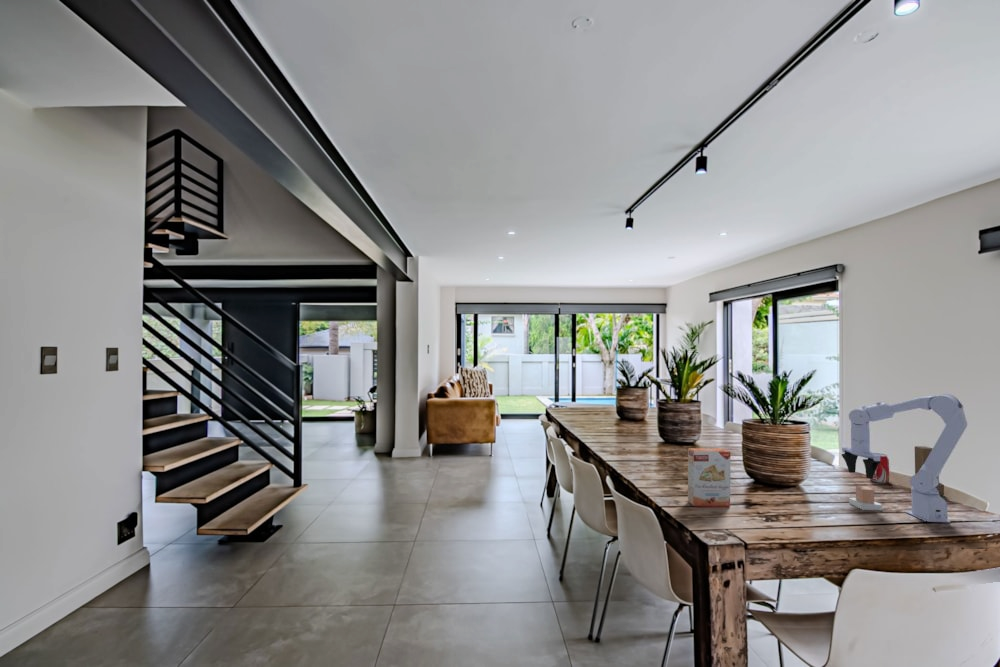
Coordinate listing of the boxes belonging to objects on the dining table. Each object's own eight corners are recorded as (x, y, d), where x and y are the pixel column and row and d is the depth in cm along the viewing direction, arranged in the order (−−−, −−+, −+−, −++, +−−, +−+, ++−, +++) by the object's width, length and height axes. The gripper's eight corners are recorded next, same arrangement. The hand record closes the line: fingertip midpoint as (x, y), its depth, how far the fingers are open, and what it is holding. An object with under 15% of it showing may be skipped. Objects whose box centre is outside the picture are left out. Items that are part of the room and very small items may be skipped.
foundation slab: (882, 511, 170) (882, 504, 170) (861, 511, 171) (861, 504, 171) (868, 505, 177) (868, 498, 177) (849, 504, 178) (849, 497, 178)
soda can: (890, 484, 201) (889, 457, 201) (869, 481, 205) (868, 454, 206) (889, 481, 207) (888, 454, 207) (868, 478, 211) (868, 451, 211)
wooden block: (944, 495, 186) (943, 451, 187) (932, 495, 187) (931, 450, 187) (926, 488, 195) (925, 446, 196) (914, 488, 196) (914, 445, 196)
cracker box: (694, 507, 173) (693, 451, 173) (687, 501, 179) (687, 447, 180) (731, 507, 173) (730, 451, 173) (723, 502, 179) (723, 447, 179)
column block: (874, 503, 172) (874, 489, 172) (862, 502, 172) (862, 489, 172) (867, 499, 175) (867, 486, 176) (855, 499, 176) (855, 486, 176)
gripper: (887, 443, 172) (887, 480, 172) (852, 435, 187) (853, 469, 186) (870, 444, 171) (871, 480, 171) (837, 436, 186) (837, 470, 185)
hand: (860, 475), depth 179 cm, fingers open, 7 cm apart
